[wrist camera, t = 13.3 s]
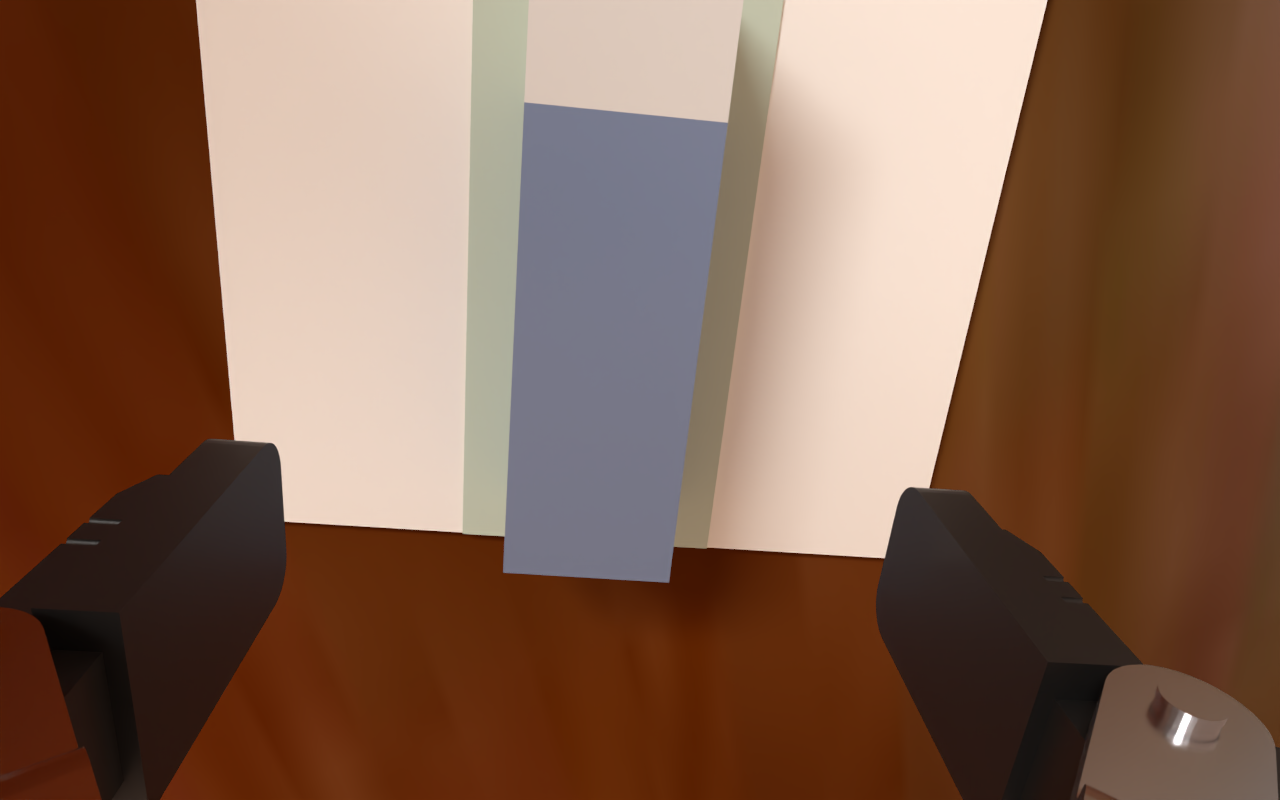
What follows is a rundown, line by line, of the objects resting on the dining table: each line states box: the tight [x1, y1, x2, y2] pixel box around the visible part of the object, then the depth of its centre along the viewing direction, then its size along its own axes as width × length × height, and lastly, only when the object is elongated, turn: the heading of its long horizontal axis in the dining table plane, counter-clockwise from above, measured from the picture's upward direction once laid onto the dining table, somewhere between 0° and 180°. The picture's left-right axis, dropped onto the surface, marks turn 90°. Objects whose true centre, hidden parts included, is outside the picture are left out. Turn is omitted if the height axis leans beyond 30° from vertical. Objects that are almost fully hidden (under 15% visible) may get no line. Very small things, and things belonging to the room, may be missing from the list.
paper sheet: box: [196, 0, 1047, 558], centre depth 25 cm, size 22×18×1 cm
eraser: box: [503, 0, 744, 583], centre depth 22 cm, size 4×15×4 cm, turn 174°
